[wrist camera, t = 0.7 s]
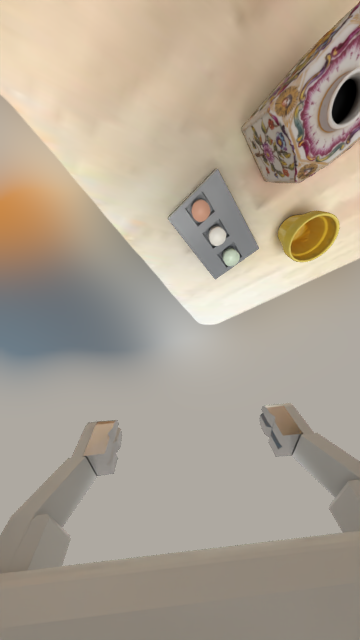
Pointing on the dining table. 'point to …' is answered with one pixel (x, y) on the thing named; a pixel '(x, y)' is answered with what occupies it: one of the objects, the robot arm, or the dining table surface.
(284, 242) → the plant pot
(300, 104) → the decorative jar
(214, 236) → the ivory button
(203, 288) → the dining table surface
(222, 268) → the button console
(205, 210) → the terracotta button
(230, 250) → the sage button
